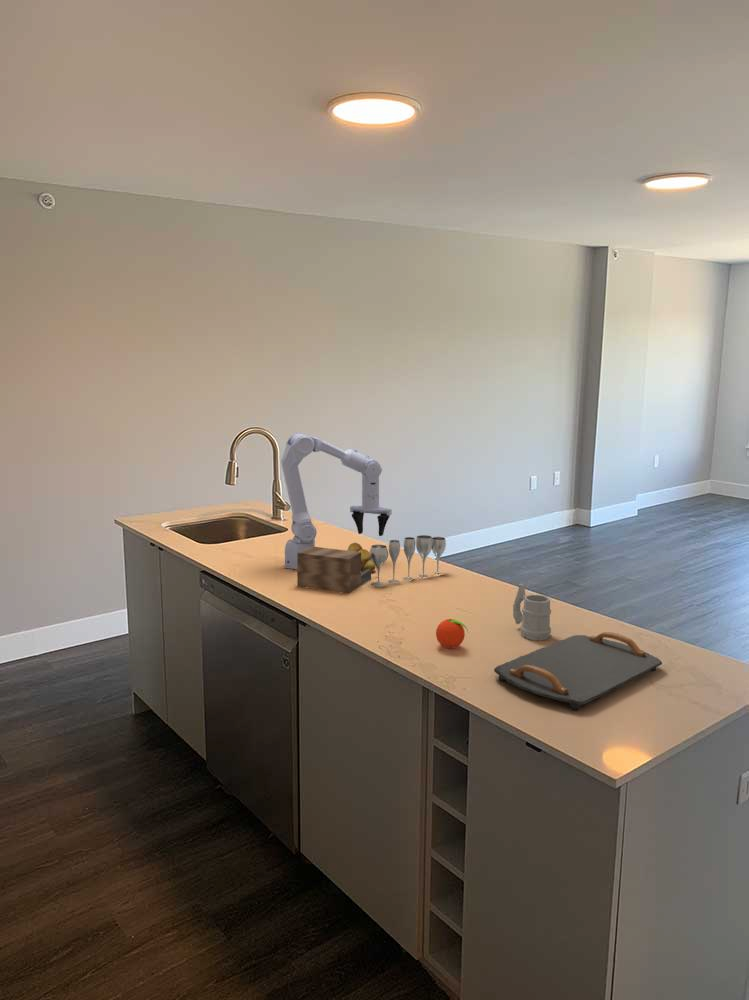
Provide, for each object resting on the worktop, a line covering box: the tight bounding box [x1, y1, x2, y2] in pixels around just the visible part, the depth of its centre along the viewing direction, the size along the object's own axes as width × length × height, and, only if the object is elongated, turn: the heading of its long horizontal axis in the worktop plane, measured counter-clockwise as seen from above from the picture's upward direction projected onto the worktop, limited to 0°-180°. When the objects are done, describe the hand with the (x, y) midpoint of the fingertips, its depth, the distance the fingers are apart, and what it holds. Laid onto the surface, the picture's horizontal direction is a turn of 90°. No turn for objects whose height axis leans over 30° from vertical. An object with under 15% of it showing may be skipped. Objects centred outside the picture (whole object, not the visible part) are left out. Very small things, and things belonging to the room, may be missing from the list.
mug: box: [512, 583, 552, 642], centre depth 195 cm, size 8×12×12 cm, turn 33°
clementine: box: [435, 618, 469, 649], centre depth 185 cm, size 8×7×7 cm
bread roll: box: [346, 542, 377, 573], centre depth 251 cm, size 13×10×8 cm
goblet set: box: [369, 534, 447, 587], centre depth 241 cm, size 28×6×13 cm, turn 123°
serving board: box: [493, 631, 663, 712], centre depth 170 cm, size 39×23×6 cm, turn 132°
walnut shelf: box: [296, 546, 372, 595], centre depth 236 cm, size 17×17×10 cm
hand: (370, 534), depth 260 cm, fingers open, 7 cm apart
